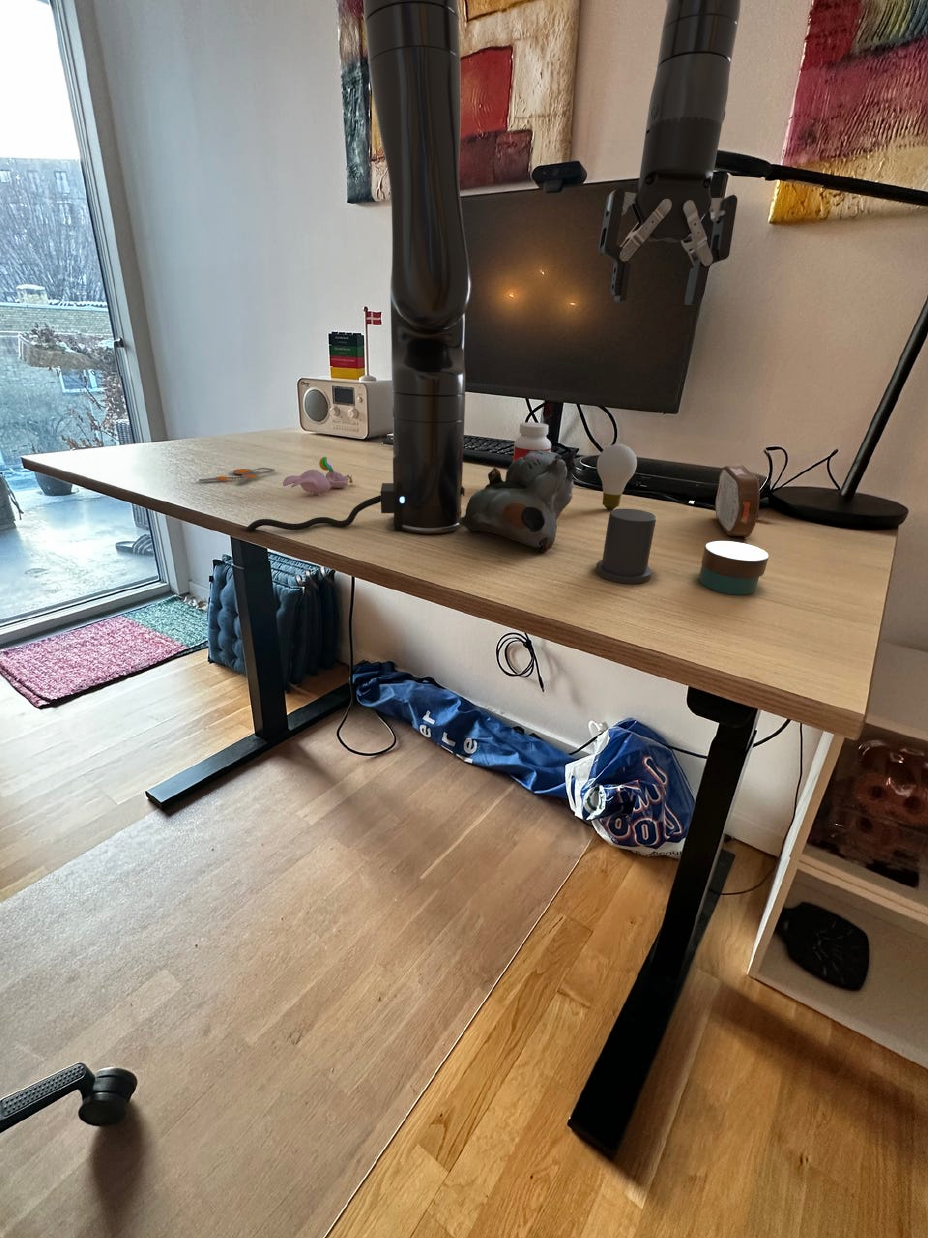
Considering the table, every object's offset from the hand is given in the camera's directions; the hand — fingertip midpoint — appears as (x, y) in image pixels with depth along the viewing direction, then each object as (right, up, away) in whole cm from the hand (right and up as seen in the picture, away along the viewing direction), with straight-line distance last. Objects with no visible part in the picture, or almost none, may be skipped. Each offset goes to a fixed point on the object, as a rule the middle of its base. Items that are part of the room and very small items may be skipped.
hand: (655, 303), depth 67 cm
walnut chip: (+8, -31, -3) cm, 32 cm away
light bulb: (+1, -19, +24) cm, 31 cm away
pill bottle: (-11, -15, +33) cm, 38 cm away
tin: (+17, -23, +18) cm, 34 cm away
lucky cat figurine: (-16, -26, +9) cm, 32 cm away
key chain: (-61, -12, +34) cm, 71 cm away
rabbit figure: (-46, -17, +27) cm, 55 cm away
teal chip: (+7, -33, -2) cm, 34 cm away
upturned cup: (-4, -31, 0) cm, 32 cm away
